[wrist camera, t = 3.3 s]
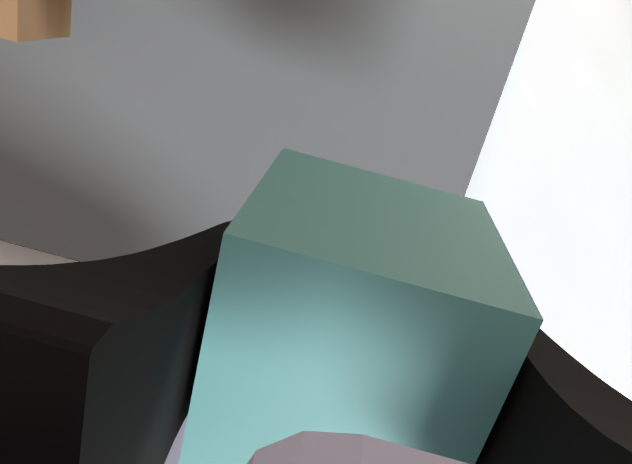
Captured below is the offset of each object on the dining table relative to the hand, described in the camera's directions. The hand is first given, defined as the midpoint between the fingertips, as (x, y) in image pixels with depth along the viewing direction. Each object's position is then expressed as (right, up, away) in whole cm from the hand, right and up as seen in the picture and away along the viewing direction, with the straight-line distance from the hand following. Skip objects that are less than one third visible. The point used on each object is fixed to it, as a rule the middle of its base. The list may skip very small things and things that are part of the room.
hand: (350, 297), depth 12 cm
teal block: (0, +1, +1) cm, 1 cm away
